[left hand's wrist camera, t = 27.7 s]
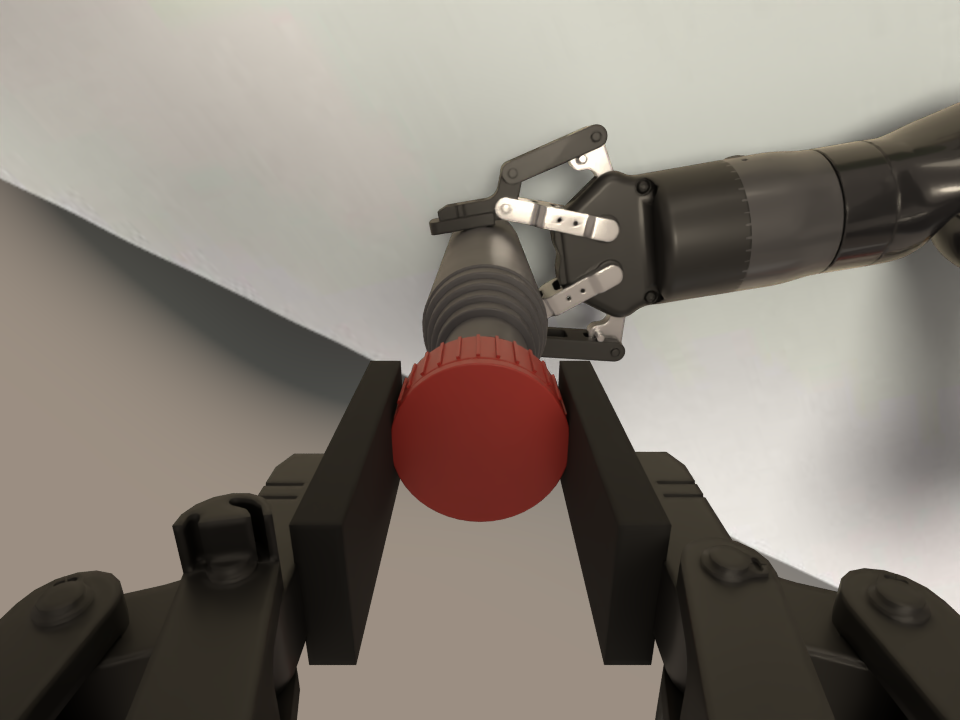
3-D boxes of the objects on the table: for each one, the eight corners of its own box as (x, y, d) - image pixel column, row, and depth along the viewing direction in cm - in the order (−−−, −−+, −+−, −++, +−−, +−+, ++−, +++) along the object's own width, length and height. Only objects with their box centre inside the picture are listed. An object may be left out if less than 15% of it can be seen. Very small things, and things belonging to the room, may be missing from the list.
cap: (508, 504, 16) (512, 550, 14) (371, 437, 15) (356, 477, 13) (593, 382, 14) (610, 416, 13) (447, 302, 14) (442, 326, 12)
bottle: (443, 277, 40) (389, 448, 17) (455, 206, 38) (414, 291, 16) (511, 290, 40) (548, 476, 18) (527, 221, 39) (590, 326, 16)
